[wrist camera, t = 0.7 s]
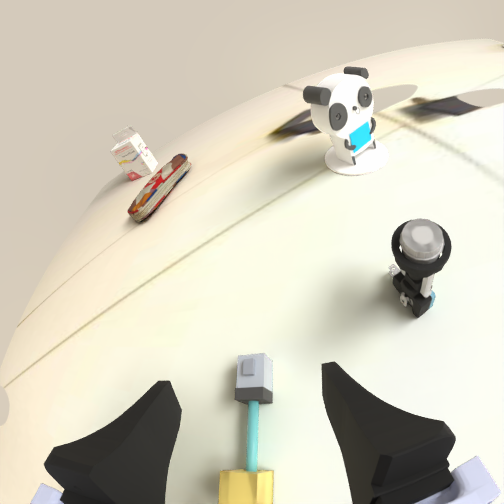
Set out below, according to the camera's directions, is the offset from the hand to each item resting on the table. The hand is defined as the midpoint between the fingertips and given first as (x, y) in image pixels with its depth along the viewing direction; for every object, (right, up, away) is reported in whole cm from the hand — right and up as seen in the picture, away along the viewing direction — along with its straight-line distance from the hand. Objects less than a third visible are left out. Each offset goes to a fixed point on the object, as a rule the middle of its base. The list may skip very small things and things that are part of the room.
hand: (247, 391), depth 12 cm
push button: (+17, +2, +15) cm, 23 cm away
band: (+1, -8, +14) cm, 16 cm away
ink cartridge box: (-31, +29, +64) cm, 77 cm away
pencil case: (-19, +20, +50) cm, 57 cm away
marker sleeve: (+1, -16, +7) cm, 18 cm away
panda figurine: (+18, +23, +32) cm, 43 cm away
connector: (+1, -7, +16) cm, 17 cm away
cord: (+1, -13, +10) cm, 16 cm away
